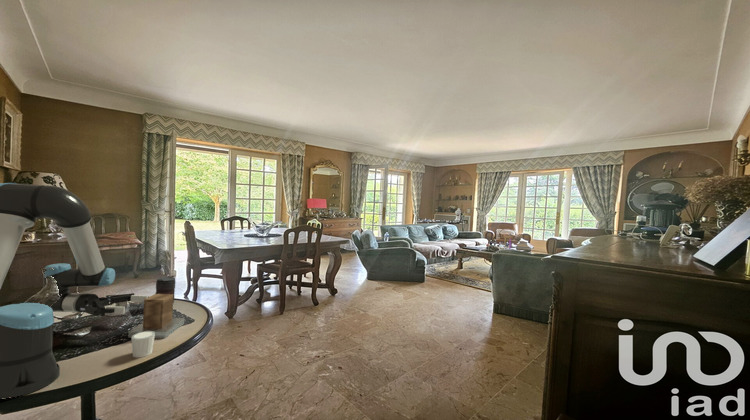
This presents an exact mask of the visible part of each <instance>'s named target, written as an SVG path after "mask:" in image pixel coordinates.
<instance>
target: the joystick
mask: <svg viewBox="0 0 750 420" xmlns="http://www.w3.org/2000/svg"><path fill="white" fill-rule="evenodd" d="M184 324H185V318H183V317H172V322H170V323H169V324H167V325H166V326H165V327H163V328H143V322H142V323H140V324H138V325H137V326H135V327H134V328H132V329H130V330H129V331H128V335H127V336H128V338H132V336H133V335H134V334H137V333H140V332H144V331H153V332H155V337H154V339H167V338H168V337H169V336H170V335H171V334H173V333H174V332H175V331H176V330H178V329H180V328H181V327H182V326H183V325H184Z"/></svg>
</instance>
